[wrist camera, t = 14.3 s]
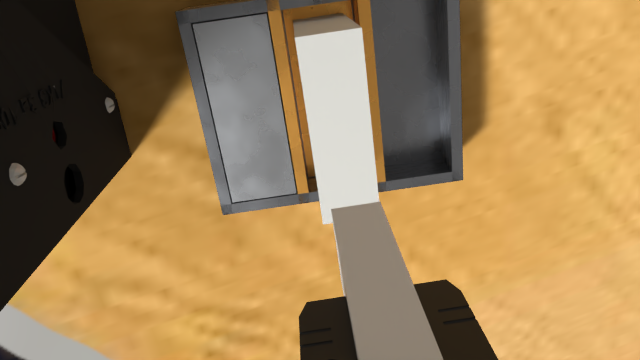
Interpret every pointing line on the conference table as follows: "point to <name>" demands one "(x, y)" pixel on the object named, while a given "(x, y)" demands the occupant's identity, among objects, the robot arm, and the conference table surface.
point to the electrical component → (49, 133)
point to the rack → (288, 101)
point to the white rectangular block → (337, 110)
